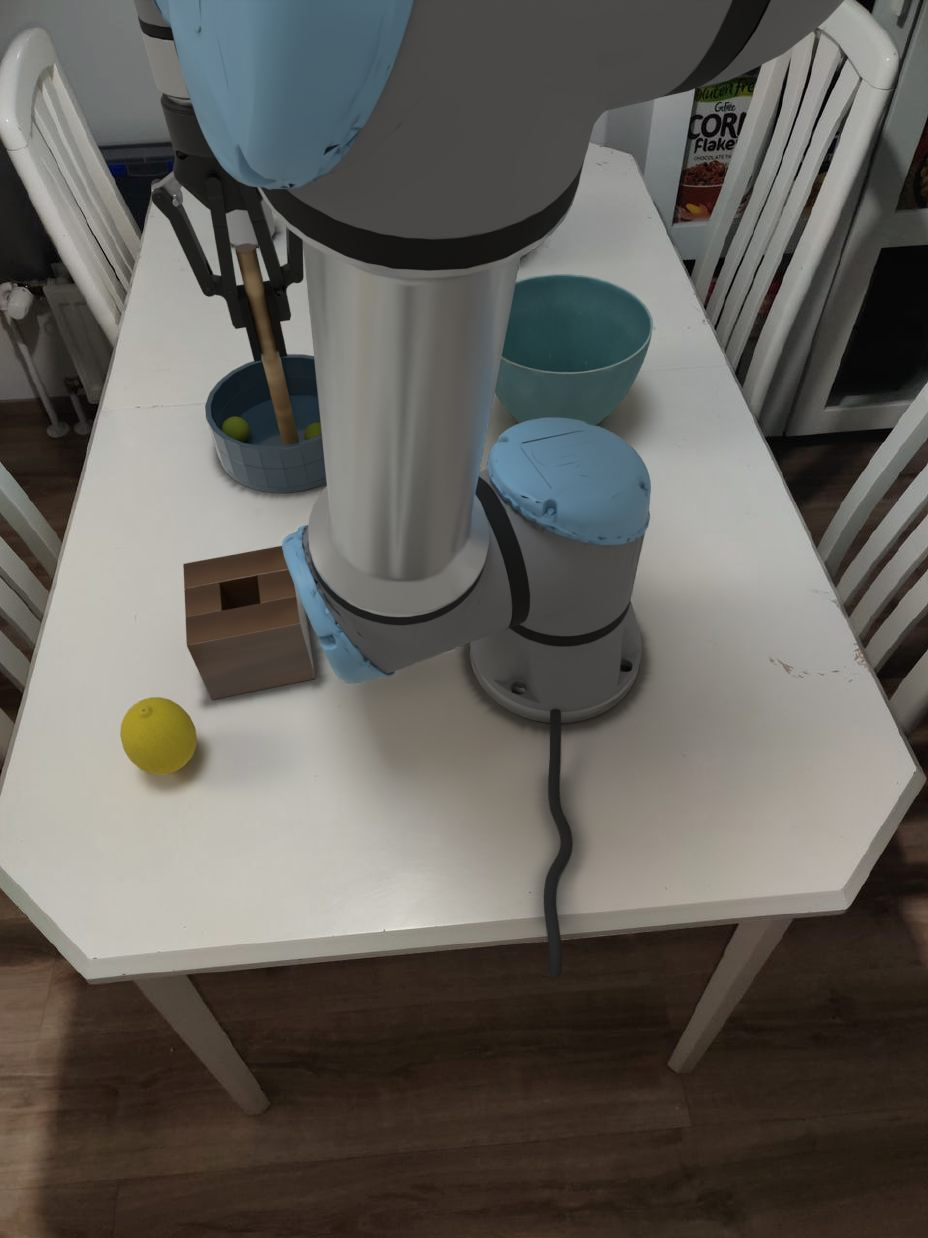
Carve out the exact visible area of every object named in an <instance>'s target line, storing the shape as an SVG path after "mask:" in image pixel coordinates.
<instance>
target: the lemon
mask: <svg viewBox="0 0 928 1238" xmlns="http://www.w3.org/2000/svg"><path fill="white" fill-rule="evenodd" d="M119 731H120V732H119V733H120V734H119V735H120V740H121V741H120V742H121V745H122V748H123V751H124V753H125V755H126V756H127V758H128V759H129V760H130V762H131V763H132V764H133V765H134V766H135V767H137V768H138V769H139V770H141V771H143V772H145V773H148V774H151V775H161V776H162V775H168V774H171V773H174V772H177V771H178V770H180V769H182V768H184V767H185V766H186V765H187V764H188V763H189V761H190V760H191V759H192V758H193V755H194V753H195V751H196V747H197V741H198V737H197V730H196V726H195V724H194V722H193V720H192V718H191V716H190V714H189V713H188V712H187V711H186V710H185V709H184V708H183V707H182V706H181V705H180V704H178V703H177V702H175V701H173V700H171V699H169V698H166V697H161V696H159V697H158V696H157V697H155V696H153V697H147V698H144V699H142V700H139V701H137V702H136V703H134V704H133V705H132V706H131V707H129V709H128V710H127V712H126V713H125V714H124V716H123V719H122V721H121V723H120V730H119Z"/></svg>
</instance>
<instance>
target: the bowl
mask: <svg viewBox="0 0 928 1238" xmlns="http://www.w3.org/2000/svg"><path fill="white" fill-rule="evenodd" d="M281 362H282V367H283V371H284V376H285V380H286V384H287V389H288V393H289V398H290V402H291V407H292V411H293V415H294V420H295V424H296V429H297V433H298V438H299V443H295V444H289V445H283V443H282V439H281V435H280V431H279V427H278V423H277V418H276V414H275V410H274V406H273V402H272V398H271V394H270V390H269V386H268V382H267V378H266V374H265V370H264V366H263V361H256V362H254V360H252V361H250V362H245V364H242V365H240V366H238V367H237V368H234V369H233V370H231V371H230V372H228V373H227V374H226V375H224V376H223V377H222V378H221V379H220V380H218V381H217V383H215V385H214V386H213V388H212V389H211V390H210V392H209V393H208V396H207V399H206V402H205V405H204V410H205V421H206V423H207V426H208V429H209V432H210V435H211V438H212V441H213V445H214V447H215V450H216V454H217V456H218V459H219V461H220V463H221V466H222V468H223V469H224V471H225V472H226V473H227V475H228V476H230V477H231V479H233V480H234V481H236V482H237V483H238V484H241V485H243V486H244V487H247V488H249V489H252V490H254V491H255V490H256V491H260V492H264V493H273V494H274V493H275V494H286V493H288V494H289V493H297V492H303V491H307V490H311V489H315V488H317V487H320V486H323V485H325V484H327V481H326V471H325V461H324V451H323V441H322V434H320V435H319V436H317V437H314V438H311V439H308V440H305V438H304V434H305V430H306V429H307V427H308V426H309V425H311V424H312V423H316V422H319V423H321V421H320V411H319V400H318V390H317V380H316V370H315V360H314V355H310V354H305V353H304V354H303V353H297V354H296V353H287V357H281ZM230 417H240V418H242V419H244V420H245V421H246V422H247V423H248V425H249V428H250V435H249V437H248V439H247V440H246V441H245V442H244V443H242V442H240V441H238V440H235V439H233V438H231V437H228V436H227V435H226V434H225V433H224V432H222V425H223V423H224V422H225V421H226V420H227V419H228V418H230Z"/></svg>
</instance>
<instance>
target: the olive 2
mask: <svg viewBox="0 0 928 1238" xmlns="http://www.w3.org/2000/svg"><path fill="white" fill-rule="evenodd" d="M320 434H322V431H321V423H319V422H316V423H312V424H311V425H309V426H308V427H307V429H306V430H305V434H304V438H305V440H308V439H311V438H314V437H317V436H319V435H320Z"/></svg>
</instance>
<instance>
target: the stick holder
mask: <svg viewBox="0 0 928 1238" xmlns="http://www.w3.org/2000/svg"><path fill="white" fill-rule="evenodd" d="M182 569H183V570H182V571H183V591H184V612H185V613H184V614H185V636H186V637H185V639H186V641H185V642H186V647H187V650H188V652H189V654H190V656H191V658H192V660H193V663H194V665H195V667H196V669H197V671H198V673H199V675H200V677H201V680H202V682H203V685H204V686H205V688H206V690H207V692H208V695H209V697H210V699H211V700H218V699H222V698H226V697H227V698H228V697H232V696H237V695H243V694H247V693H252V692H256V691H257V692H258V691H261V690H262V691H263V690H266V689H272V688H276V687H280V686H287V685H291V684H295V683H300V682H301V683H302V682H306V681H311V680H316V672H315V665H314V660H313V659H314V658H313V652H312V646H311V645H312V644H311V640H310V639H311V638H310V633H309V627H308V620H307V619H308V618H307V613H306V611H305V609H304V606H303V604H302V602H301V599H300V597H299V594H298V592H297V589H296V587H295V585H294V582H293V579H292V577H291V574H290V572H289V569H288V567H287V564H286V561H285V558H284V554H283V550H282V545H278V546H272V547H267V548H262V549H257V550H251V551H245V552H240V553H234V554H230V555H225V556H218V557H213V558H208V559H207V558H206V559H201V560H196V561H191V562H186V563H183V564H182Z"/></svg>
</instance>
